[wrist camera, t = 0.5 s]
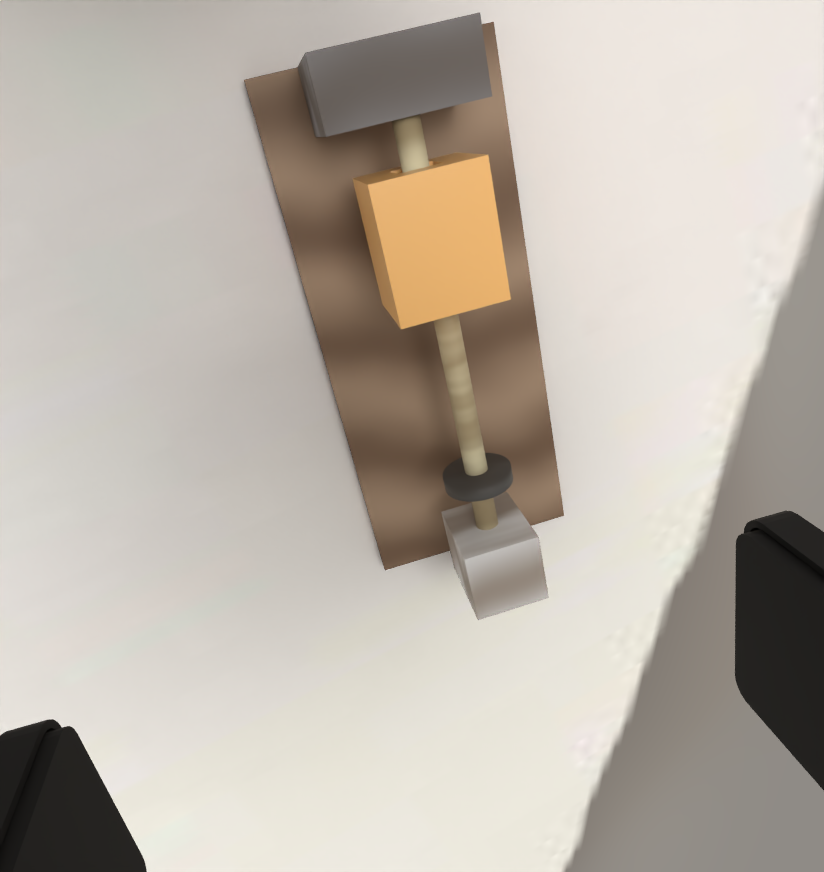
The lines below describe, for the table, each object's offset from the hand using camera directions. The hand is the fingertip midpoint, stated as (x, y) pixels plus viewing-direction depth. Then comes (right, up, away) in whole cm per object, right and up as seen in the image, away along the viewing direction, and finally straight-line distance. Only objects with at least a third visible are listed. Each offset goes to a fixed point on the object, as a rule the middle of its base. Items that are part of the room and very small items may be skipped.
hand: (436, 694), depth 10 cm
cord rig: (+1, +10, +29) cm, 31 cm away
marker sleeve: (0, +13, +24) cm, 27 cm away
